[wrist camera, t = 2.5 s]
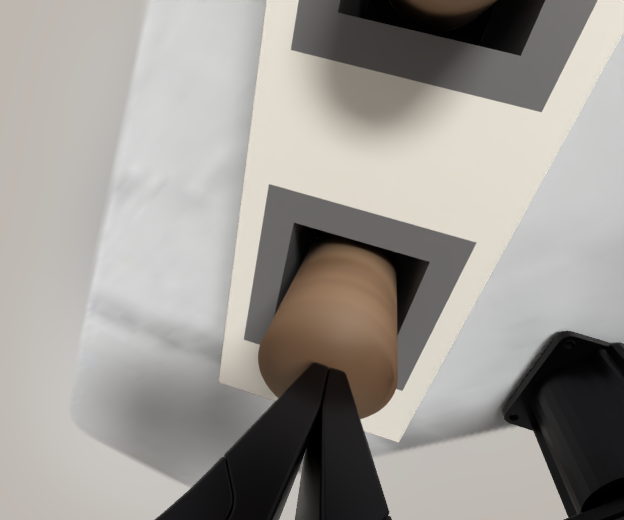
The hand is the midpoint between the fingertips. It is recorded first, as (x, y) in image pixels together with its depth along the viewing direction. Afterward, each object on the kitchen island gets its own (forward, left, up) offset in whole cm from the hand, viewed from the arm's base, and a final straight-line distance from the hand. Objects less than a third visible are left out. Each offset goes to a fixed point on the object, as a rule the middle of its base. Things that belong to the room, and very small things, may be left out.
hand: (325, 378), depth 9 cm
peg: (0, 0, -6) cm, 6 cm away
